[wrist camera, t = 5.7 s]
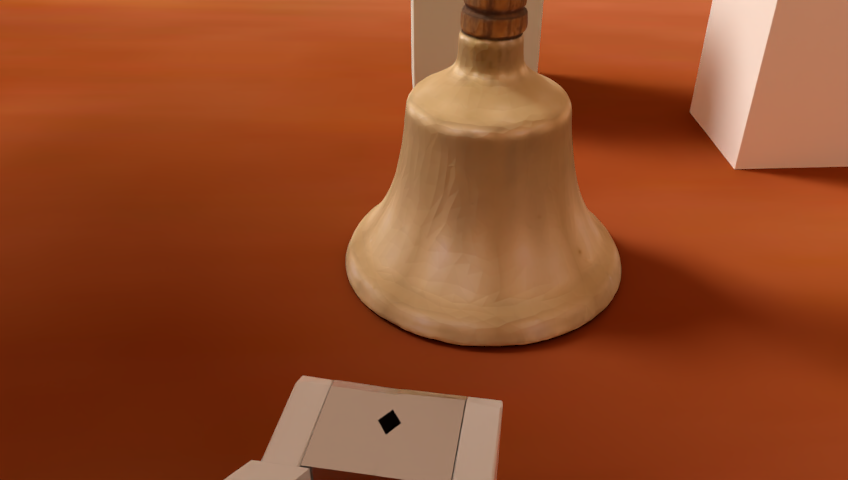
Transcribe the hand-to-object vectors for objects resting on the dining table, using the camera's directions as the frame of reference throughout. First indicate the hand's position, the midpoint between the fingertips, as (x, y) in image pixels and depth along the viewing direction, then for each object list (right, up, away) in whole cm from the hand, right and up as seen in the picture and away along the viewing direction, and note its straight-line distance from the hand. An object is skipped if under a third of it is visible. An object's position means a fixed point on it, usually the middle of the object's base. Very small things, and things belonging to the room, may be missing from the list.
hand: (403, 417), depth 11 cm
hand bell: (+2, +2, +12) cm, 12 cm away
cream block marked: (+14, +7, +19) cm, 24 cm away
